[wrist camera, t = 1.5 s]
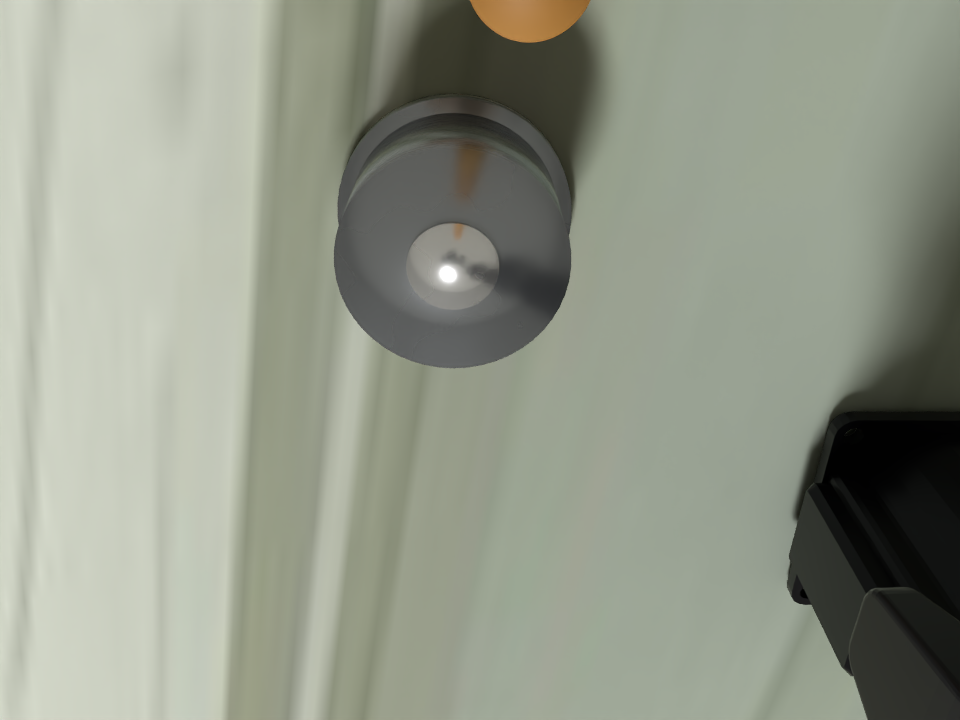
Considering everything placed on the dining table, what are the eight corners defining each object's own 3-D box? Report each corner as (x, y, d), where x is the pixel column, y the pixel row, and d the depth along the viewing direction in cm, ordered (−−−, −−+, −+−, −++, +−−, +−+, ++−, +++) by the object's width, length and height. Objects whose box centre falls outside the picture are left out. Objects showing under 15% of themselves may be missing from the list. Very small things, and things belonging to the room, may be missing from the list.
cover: (576, 94, 18) (598, 133, 15) (561, 312, 20) (577, 383, 17) (332, 91, 17) (305, 131, 15) (348, 311, 20) (328, 382, 17)
